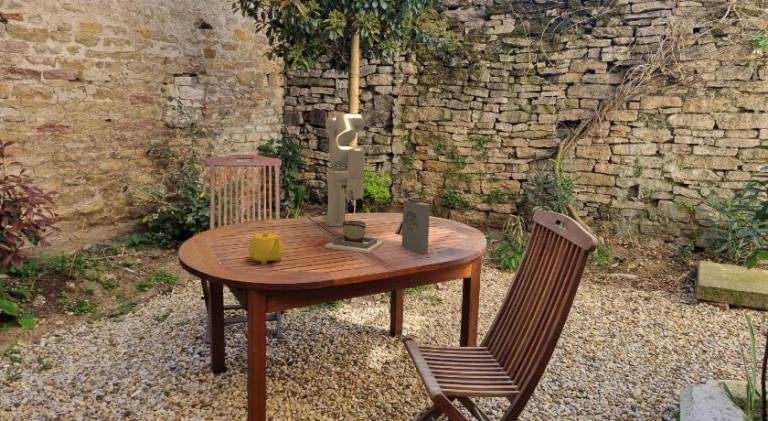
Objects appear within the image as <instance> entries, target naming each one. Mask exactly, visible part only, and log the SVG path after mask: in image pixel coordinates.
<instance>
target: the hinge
mask: <svg viewBox="0 0 768 421" xmlns="http://www.w3.org/2000/svg"><path fill="white" fill-rule="evenodd" d="M402 228H403V219H401V221H399V224H398V228H397V229H395V231H394V234H398V235H400V236H402Z"/></svg>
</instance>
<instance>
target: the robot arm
mask: <svg viewBox="0 0 768 421" xmlns="http://www.w3.org/2000/svg"><path fill="white" fill-rule="evenodd" d="M364 128H365V119H364V116H363V115H362V114H360V113H357V112H356V113H353V112H352V113H350V112H349V113H348V112H343V113H339V114H337V115H336V116H329V117H328V118H326V120H325V129H326V133H327V135H328V140H329V155H328V156H329V163H330V164H331V165H333V166H341V167H333V168H329V169H328V170H327V172H326V181H327V182H326V183H327V198H328V199H327V215H322V216H321V219H322V220H325V223H324V224H325V225H326V226H327V227H328V226H329V227H343V226H342V223H343V222H344V221H346V212H347V214H352V215H354V214H355V209H356V210H361V211H362V210H364V209H363V208H364V193H365V190H364V188H365V187H364V179H365V158H366V157H365V156H366V155H365V154H366V151H365V148H363V146H361V145H348V144H350V143H352V142H353V141H355V139H356V138H357V133H359V132H361V131H363V129H364ZM342 166H343V167H342ZM344 166H346V167H344ZM342 186H346V191H345V190H344V189H343V188H342ZM346 203H347V204H346ZM346 205H347V207H346ZM346 209H347V211H346Z"/></svg>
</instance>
